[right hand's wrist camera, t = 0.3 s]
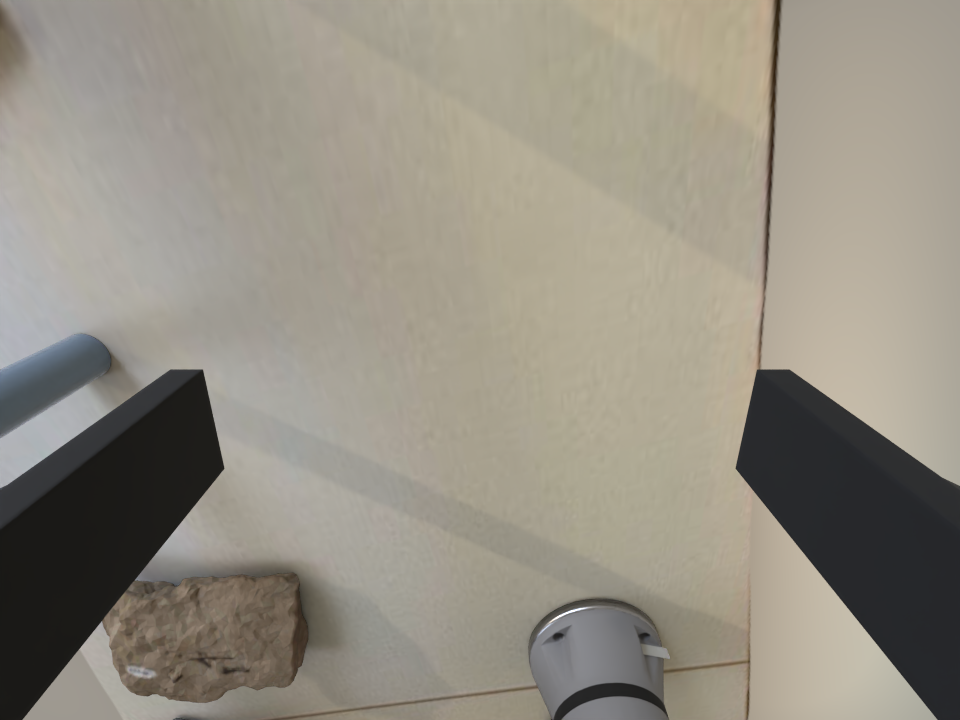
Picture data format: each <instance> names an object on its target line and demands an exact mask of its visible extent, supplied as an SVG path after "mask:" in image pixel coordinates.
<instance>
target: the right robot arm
mask: <svg viewBox="0 0 960 720" xmlns="http://www.w3.org/2000/svg"><path fill="white" fill-rule="evenodd" d="M223 470H224V464H223V460H222V455H221V451H220V446H219V441H218V437H217V432H216V428H215V423H214V418H213V414H212V409H211V405H210V400H209V395H208V391H207V386H206V382H205V377H204V372H203V370H169V371H168V372H167V373H165V374H164V375H162V376H161V377H159V378H158V379H157V380H155V381H154V382H152V383H151V384H150V385H148V386H147V387H145V388H144V389H142V390H141V391H140V392H138V393H137V394H135V395H134V396H133V397H131V398H130V399H128V400H127V401H126V402H124V403H123V404H121V405H120V406H118V407H117V408H116V409H114V410H113V411H111V412H110V413H109V414H107V415H106V416H104V417H103V418H102V419H100V420H99V421H97V422H96V423H94V424H93V425H92V426H90V427H89V428H87V429H86V430H85V431H83V432H82V433H80V434H79V435H78V436H76V437H75V438H73V439H72V440H70V441H69V442H68V443H66V444H65V445H63V446H62V447H61V448H59V449H58V450H56V451H55V452H53V453H52V454H51V455H49V456H48V457H46V458H45V459H44V460H42V461H41V462H39V463H38V464H37V465H35V466H34V467H32V468H31V469H29V470H28V471H27V472H25V473H24V474H22V475H21V476H20V477H18V478H17V479H15V480H14V481H13V482H11V483H10V484H8V485H6V486H4V487H2V488H0V720H22V719H23V718H24V717H25V716H26V715H27V713H28V712H29V711H30V710H31V708H32V707H33V706H34V705H35V703H36V702H37V701H38V700H39V698H40V697H41V696H42V695H43V693H44V692H45V691H46V690H47V688H48V687H49V686H50V685H51V683H52V682H53V681H54V680H55V678H56V677H57V676H58V675H59V674H60V672H61V671H62V670H63V669H64V667H65V666H66V665H67V664H68V662H69V661H70V660H71V659H72V657H73V656H74V655H75V654H76V652H77V651H78V650H79V649H80V647H81V646H82V645H83V644H84V642H85V641H86V640H87V639H88V637H89V636H90V635H91V634H92V632H93V631H94V630H95V629H96V628H97V626H98V625H99V624H100V623H101V621H102V620H103V619H104V618H105V616H106V615H107V614H108V613H109V611H110V610H111V609H112V608H113V606H114V605H115V604H116V603H117V601H118V600H119V599H120V598H121V596H122V595H123V594H124V593H125V591H126V590H127V589H128V588H129V586H130V585H131V584H132V583H133V582H134V580H135V579H136V578H137V577H138V575H139V574H140V573H141V572H142V570H143V569H144V568H145V567H146V565H147V564H148V563H149V562H150V560H151V559H152V558H153V557H154V555H155V554H156V553H157V552H158V550H159V549H160V548H161V547H162V545H163V544H164V543H165V542H166V540H167V539H168V538H169V537H170V535H171V534H172V533H173V532H174V531H175V529H176V528H177V527H178V526H179V524H180V523H181V522H182V521H183V519H184V518H185V517H186V516H187V514H188V513H189V512H190V511H191V509H192V508H193V507H194V506H195V504H196V503H197V502H198V501H199V499H200V498H201V497H202V496H203V494H204V493H205V492H206V491H207V489H208V488H209V487H210V486H211V485H212V483H213V482H214V481H215V480H216V478H217V477H218V476H219V475H220V473H221V472H222V471H223ZM736 470H737V471H738V472H739V473H740V475H741V476H742V477H743V478H744V480H745V481H746V482H747V483H748V485H749V486H750V487H751V488H752V489H753V491H754V492H755V493H756V494H757V496H758V497H759V498H760V499H761V501H762V502H763V503H764V504H765V506H766V507H767V508H768V509H769V511H770V512H771V513H772V514H773V516H774V517H775V518H776V519H777V521H778V522H779V523H780V524H781V525H782V527H783V528H784V529H785V530H786V532H787V533H788V534H789V535H790V537H791V538H792V539H793V540H794V542H795V543H796V544H797V545H798V547H799V548H800V549H801V550H802V552H803V553H804V554H805V555H806V557H807V558H808V559H809V560H810V562H811V563H812V564H813V565H814V567H815V568H816V569H817V570H818V571H819V573H820V574H821V575H822V577H823V578H824V579H825V580H826V581H827V583H828V584H829V585H830V586H831V588H832V589H833V590H834V591H835V593H836V594H837V595H838V596H839V598H840V599H841V600H842V601H843V603H844V604H845V605H846V606H847V608H848V609H849V610H850V611H851V613H852V614H853V615H854V616H855V618H856V619H857V620H858V621H859V623H860V624H861V625H862V626H863V628H864V629H865V630H866V631H867V632H868V634H869V635H870V636H871V637H872V639H873V640H874V641H875V642H876V644H877V645H878V646H879V647H880V649H881V650H882V651H883V652H884V654H885V655H886V656H887V657H888V659H889V660H890V661H891V662H892V664H893V665H894V666H895V667H896V669H897V670H898V671H899V672H900V673H901V675H902V676H903V677H904V678H905V680H906V681H907V682H908V683H909V685H910V686H911V687H912V688H913V690H914V691H915V692H916V693H917V695H918V696H919V697H920V698H921V700H922V701H923V702H924V703H925V705H926V706H927V707H928V708H929V710H930V711H931V712H932V713H933V715H934V716H935V717H936V718H937V720H960V486H958V485H956V484H954V483H952V482H950V481H948V480H946V479H944V478H942V477H940V476H939V475H938V474H936V473H935V472H933V471H932V470H930V469H929V468H928V467H926V466H925V465H923V464H922V463H921V462H919V461H918V460H916V459H915V458H913V457H912V456H911V455H909V454H908V453H906V452H905V451H904V450H902V449H901V448H899V447H898V446H897V445H895V444H894V443H892V442H891V441H890V440H888V439H887V438H885V437H884V436H882V435H881V434H880V433H878V432H877V431H875V430H874V429H873V428H871V427H870V426H868V425H867V424H866V423H864V422H863V421H861V420H860V419H858V418H857V417H856V416H854V415H853V414H851V413H850V412H849V411H847V410H846V409H844V408H843V407H841V406H840V405H839V404H837V403H836V402H834V401H833V400H832V399H830V398H829V397H827V396H826V395H825V394H823V393H822V392H820V391H819V390H818V389H816V388H815V387H813V386H812V385H810V384H809V383H808V382H806V381H805V380H803V379H802V378H801V377H799V376H798V375H796V374H795V373H793V372H792V371H791V370H757V372H756V377H755V382H754V386H753V391H752V395H751V400H750V405H749V409H748V414H747V418H746V423H745V428H744V432H743V437H742V441H741V446H740V451H739V455H738V460H737V464H736ZM528 652H529V662H530V667H531V671H532V674H533V677H534V680H535V682H536V684H537V686H538V688H539V691H540V693H541V695H542V697H543V700H544V702H545V704H546V706H547V709H548V711H549V713H550V715H551V717H552V719H551V720H669V718H668V715H667V712H666V709H665V706H664V692H663V658H667V659H670V656H669V654H668V651H667V648H662V645H661V641H660V638H659V635H658V632H657V630H656V627H655V625H654V624H653V622H652V621H651V619H650V618H649V617H648V616H647V615H646V614H645V613H643V612H642V611H641V610H639V609H637V608H636V607H634V606H631V605H629V604H626V603H623V602H620V601H615V600H608V599H590V600H582V601H578V602H574V603H570V604H567V605H565V606H563V607H560V608H558V609H556V610H555V611H553V612H551V613H550V614H548V615H547V616H546V617H545V618H544V619H542V620H541V621H540V623H539V624H538V625H537V626H536V628H535V629H534V631H533V632H532V635H531V637H530V640H529V646H528Z"/></svg>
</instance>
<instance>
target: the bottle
mask: <svg viewBox="0 0 960 720" xmlns="http://www.w3.org/2000/svg"><path fill="white" fill-rule="evenodd" d="M110 365H111V358H110V354H109V352H108V350H107V349H106V347H105V346H104V345H103V344H102V343H101V342H100V341H99V340H97V339H96V338H94V337H92V336H89V335H85V334H74V335H71V336H69V337H67V338H65V339H63V340H61V341H59V342H57V343H55V344H53V345H50V346H48V347H46V348H44V349H42V350H40V351H38V352H36V353H34V354H32V355H30V356H27V357H25V358H23V359H21V360H19V361H17V362H15V363H13V364H11V365H9V366H7V367H4V368H2V369H0V439H1V438H2V437H4V436H5V435H7V434H9V433H10V432H12V431H13V430H15V429H17V428H18V427H20V426H21V425H23V424H25V423H26V422H28V421H29V420H31V419H33V418H34V417H36V416H37V415H39V414H41V413H42V412H44V411H46V410H47V409H49V408H50V407H52V406H54V405H55V404H57V403H58V402H60V401H62V400H63V399H65V398H66V397H68V396H70V395H71V394H73V393H74V392H76V391H78V390H79V389H81V388H82V387H84V386H86V385H87V384H89V383H90V382H92V381H94V380H95V379H97V378H99V377H100V376H102V375H103V374H105V373H106V372H107V371H108V370H109V368H110Z"/></svg>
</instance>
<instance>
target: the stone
mask: <svg viewBox="0 0 960 720" xmlns="http://www.w3.org/2000/svg"><path fill="white" fill-rule="evenodd" d="M299 585H300V583H299V579H298V577H297V575H296V574H295V573H287V574H279V573H278V574H276V575H270V576H264V577H260V578H257V577H250V576H247V575H236V576H229V577H227V578H216V577H212V576H211V577H207V578H199V577H191V578H187V579H183V580H182V582H181V584H180V585H179V586H177V587H175V586H174V584H171V583H167V582H155V583H152V582H147V581H143V582H142V581H135V580H134V582H133V583H132V584H131V585H130V586H129V588H128V589H127V590H126V591H125V593H124V594H123V595H122V596H121V598H120V599H119V600H118V601H117V603H116V604H115V605H114V606H113V608H112V609H111V610H110V611H109V613H108V614H107V615H106V616H105V618H104V619H103V620H102V622H103V626H104V629H105V630H106V633H107V635H108V636H110V642H109V647H110V648H111V650H112V657H113V664H114V667H115V668H116V670H117V671H118V672H119V675H120V678H121V681H122V683H123V684H124V685H125V686H126V687H127V688H128V690H129V691H130V692H132V693H135V694H136V695H141V696H150V695H152V694H158V695H160V696H165V697H166V698H168V699H169V700H170V699H174V700H177V701H190V702H197V703H206V702H211V701H215V700H217V699H219V698H220V697H222V696H223V694H224V693H225V692H227V691H228V690H232V689H236V688H238V687H240V686H247V687H250V688H253V689H256V690H260V689H262V688H265V687H271V686H276V687H283V688H285V687H287V686H289V685H290V684H291V683H292V682H293V681H294V677H295V676H296V673H297V671H298V667H300V666H302V662H303V657H304V652H305V648H306V644H307V641H308V630H307V625H306V621H305V619H304V617H303V615H302V613H301V601H300V592H299V589H298V588H299Z"/></svg>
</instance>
